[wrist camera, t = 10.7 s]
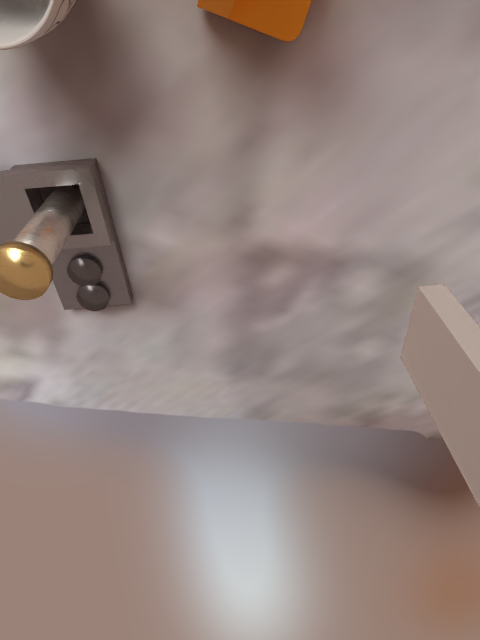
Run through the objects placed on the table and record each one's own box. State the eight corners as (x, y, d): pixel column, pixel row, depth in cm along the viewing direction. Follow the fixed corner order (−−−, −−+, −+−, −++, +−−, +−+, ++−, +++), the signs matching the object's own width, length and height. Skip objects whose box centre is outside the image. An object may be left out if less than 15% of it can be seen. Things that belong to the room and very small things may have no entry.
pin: (39, 181, 37) (-26, 251, 27) (84, 177, 37) (36, 245, 27) (54, 223, 40) (0, 302, 29) (97, 219, 40) (57, 297, 29)
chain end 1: (92, 163, 35) (87, 169, 34) (113, 238, 40) (109, 247, 38) (-92, 179, 35) (-105, 186, 34) (-51, 253, 40) (-61, 263, 38)
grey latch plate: (14, 165, 36) (6, 172, 35) (95, 158, 36) (91, 165, 35) (67, 303, 45) (63, 313, 44) (133, 297, 45) (130, 307, 44)
